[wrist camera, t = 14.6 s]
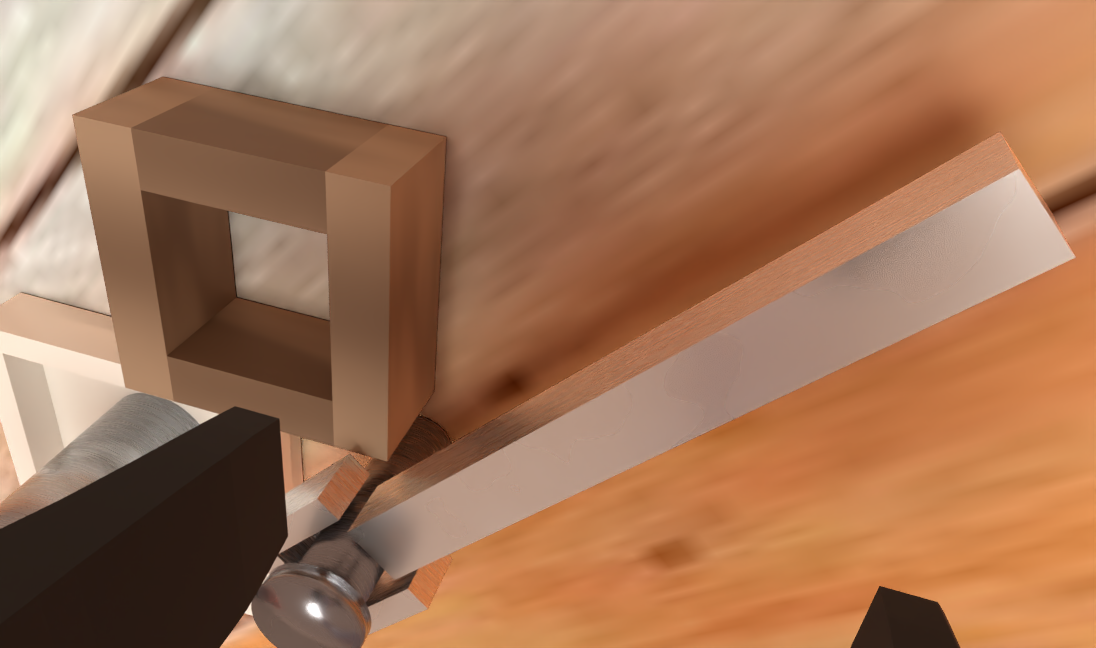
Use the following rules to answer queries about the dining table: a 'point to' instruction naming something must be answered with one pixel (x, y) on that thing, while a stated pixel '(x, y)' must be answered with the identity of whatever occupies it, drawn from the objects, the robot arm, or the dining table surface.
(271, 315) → the socket block
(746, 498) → the dining table surface
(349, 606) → the pivot post
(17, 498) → the steel pin
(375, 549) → the bar
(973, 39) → the dining table surface
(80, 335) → the tray
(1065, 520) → the dining table surface
